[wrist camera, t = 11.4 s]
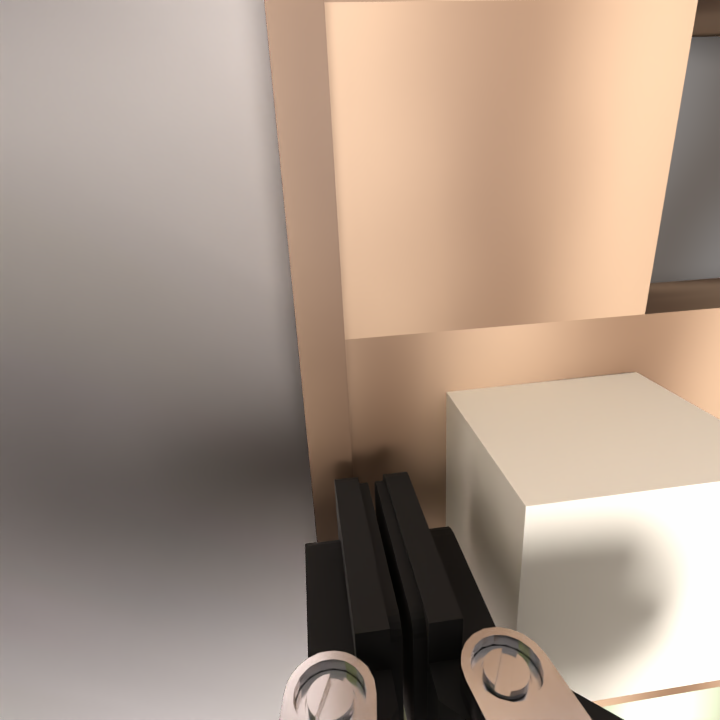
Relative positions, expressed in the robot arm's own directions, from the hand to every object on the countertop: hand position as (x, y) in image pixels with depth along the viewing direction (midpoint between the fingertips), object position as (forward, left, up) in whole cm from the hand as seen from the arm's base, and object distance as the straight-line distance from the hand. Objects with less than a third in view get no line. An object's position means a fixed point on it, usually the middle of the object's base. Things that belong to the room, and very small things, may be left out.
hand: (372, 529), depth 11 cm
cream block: (+5, 0, -2) cm, 5 cm away
